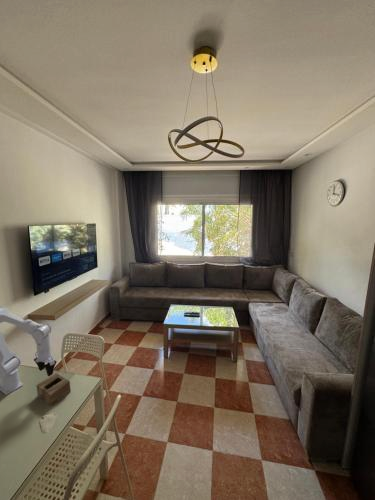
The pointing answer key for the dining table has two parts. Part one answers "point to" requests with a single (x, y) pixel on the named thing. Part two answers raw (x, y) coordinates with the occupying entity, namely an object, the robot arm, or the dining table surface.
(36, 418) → the dining table surface
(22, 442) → the dining table surface
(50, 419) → the arrowhead
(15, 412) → the dining table surface
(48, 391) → the box
